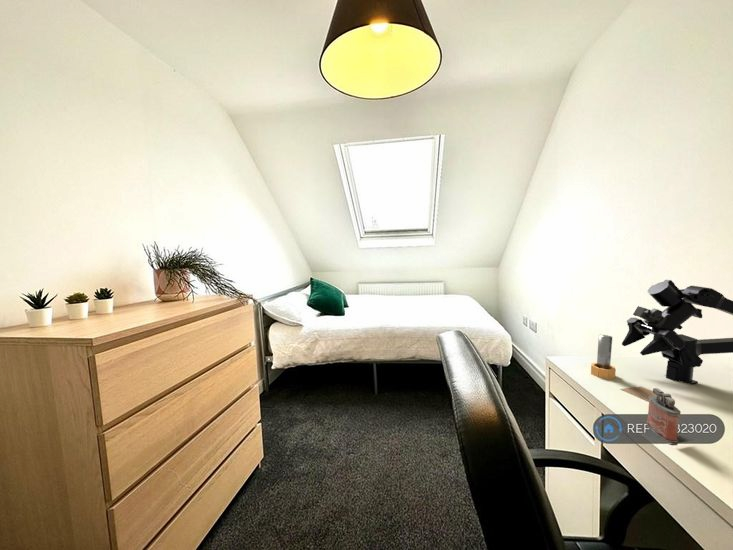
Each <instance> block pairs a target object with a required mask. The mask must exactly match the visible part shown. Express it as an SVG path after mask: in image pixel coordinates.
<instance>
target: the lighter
mask: <svg viewBox="0 0 733 550" xmlns="http://www.w3.org/2000/svg"><path fill="white" fill-rule="evenodd" d="M652 391H653V394H655V395H656V396H657V397H656V396H648V400H649V402H648V411H647V422H646V425H647V427H648V428H649V429H650V430H651V431H652V432H653V433H655V434H656V435H657V436H659V437H660V438H662V439H663V440H665V441H668V442H671V443H668V445H669V446H678V443H679V439H678V431H679V430H678V429H679V421H680V420H679V418H680V416H681V414H682V413H681V410H680V409H679V408H678V407H677V406H675V404H676V400H675V398H673V397H672V395H671V394H670V393H666V392H664V391H663V390H661V389H660V388H658V387H654V388H652Z"/></svg>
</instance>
